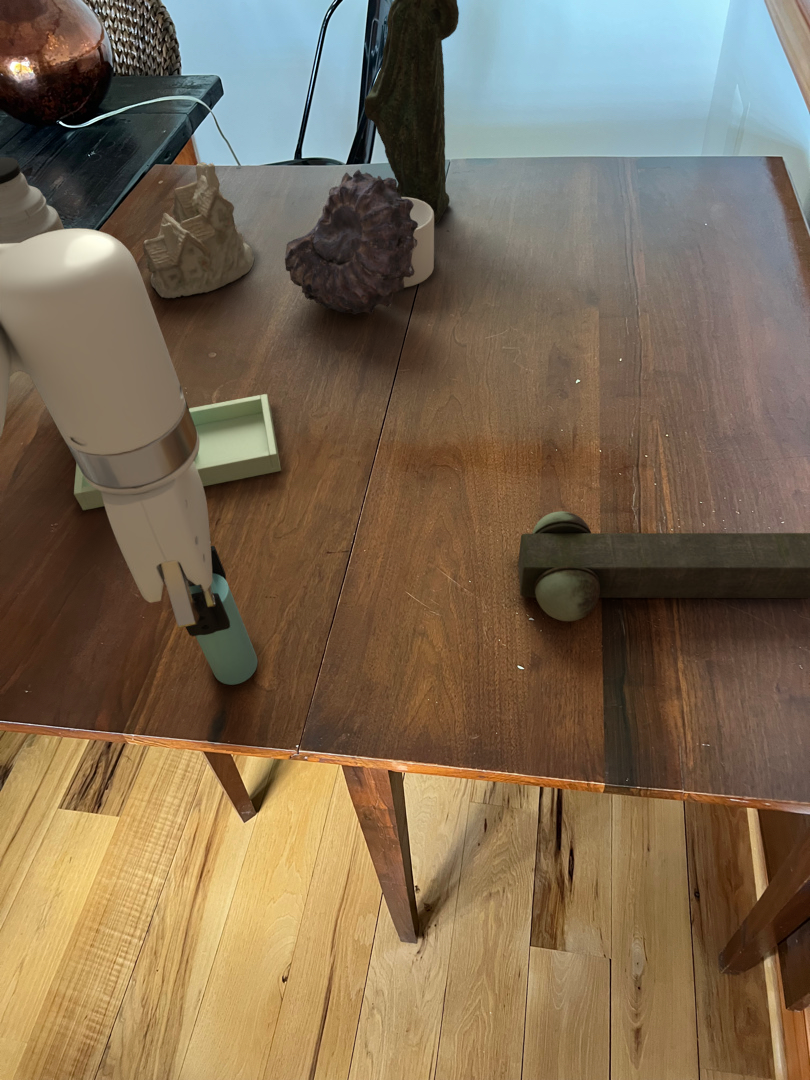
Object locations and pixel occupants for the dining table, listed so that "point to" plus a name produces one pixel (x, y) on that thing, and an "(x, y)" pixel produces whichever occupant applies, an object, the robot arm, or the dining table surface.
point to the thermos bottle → (22, 206)
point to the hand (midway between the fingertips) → (208, 604)
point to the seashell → (356, 246)
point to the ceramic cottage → (197, 241)
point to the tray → (220, 445)
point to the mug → (422, 242)
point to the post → (655, 565)
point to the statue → (414, 98)
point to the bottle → (228, 641)
